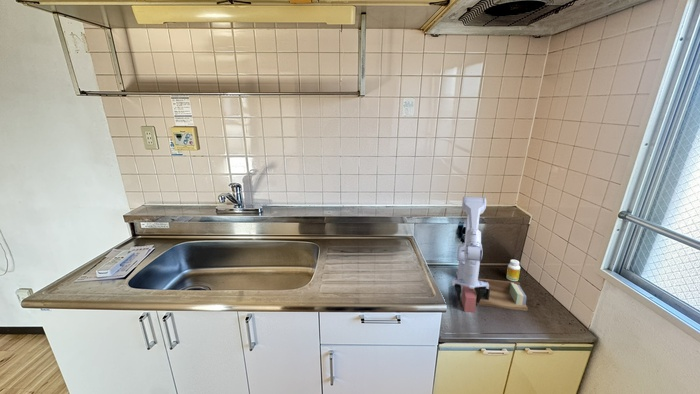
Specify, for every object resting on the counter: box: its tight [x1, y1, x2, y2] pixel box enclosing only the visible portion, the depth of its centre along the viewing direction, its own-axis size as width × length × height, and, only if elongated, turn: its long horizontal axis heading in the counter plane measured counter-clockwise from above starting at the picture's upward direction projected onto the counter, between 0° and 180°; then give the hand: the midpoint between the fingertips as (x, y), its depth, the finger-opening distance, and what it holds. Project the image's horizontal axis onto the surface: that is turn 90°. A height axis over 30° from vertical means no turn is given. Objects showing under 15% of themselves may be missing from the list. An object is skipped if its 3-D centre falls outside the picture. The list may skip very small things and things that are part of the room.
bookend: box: [475, 280, 490, 300], centre depth 128 cm, size 8×4×5 cm, turn 168°
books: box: [509, 283, 527, 305], centre depth 124 cm, size 9×4×5 cm, turn 168°
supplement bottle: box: [506, 259, 521, 282], centre depth 141 cm, size 5×5×10 cm
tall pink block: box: [460, 285, 477, 314], centre depth 122 cm, size 9×4×7 cm, turn 168°
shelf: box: [473, 278, 529, 312], centre depth 125 cm, size 12×20×6 cm, turn 78°
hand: (468, 300), depth 122 cm, fingers open, 7 cm apart
